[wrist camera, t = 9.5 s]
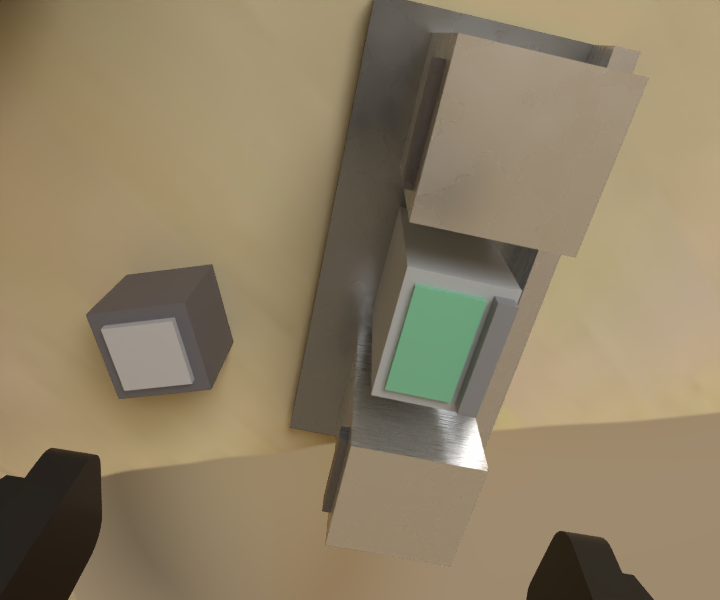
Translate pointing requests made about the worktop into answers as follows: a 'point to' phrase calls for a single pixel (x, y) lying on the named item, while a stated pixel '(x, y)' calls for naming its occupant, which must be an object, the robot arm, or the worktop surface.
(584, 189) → the grey slotted holder
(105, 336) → the block
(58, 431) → the worktop surface
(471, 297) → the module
